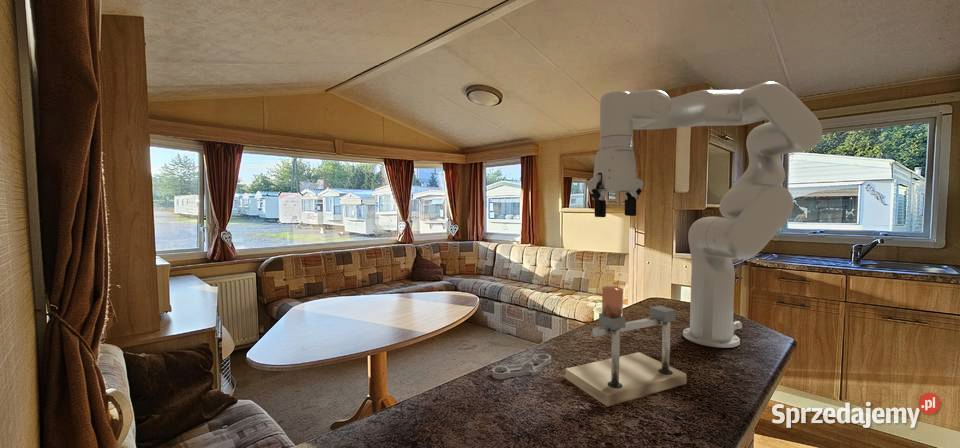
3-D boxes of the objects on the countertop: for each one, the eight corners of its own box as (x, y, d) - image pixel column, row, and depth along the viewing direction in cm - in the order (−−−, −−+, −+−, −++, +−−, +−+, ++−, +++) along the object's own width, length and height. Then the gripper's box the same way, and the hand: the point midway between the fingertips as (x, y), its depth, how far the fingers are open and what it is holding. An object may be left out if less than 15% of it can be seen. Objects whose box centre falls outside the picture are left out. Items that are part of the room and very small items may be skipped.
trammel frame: (660, 364, 81) (662, 305, 80) (675, 371, 77) (677, 309, 76) (589, 382, 73) (590, 317, 72) (603, 390, 70) (604, 322, 69)
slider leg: (611, 374, 75) (613, 285, 74) (625, 382, 72) (627, 289, 71) (597, 378, 74) (598, 287, 73) (610, 386, 70) (612, 291, 69)
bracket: (484, 360, 85) (546, 351, 89) (484, 369, 85) (546, 359, 89) (496, 375, 78) (563, 364, 82) (496, 385, 78) (563, 373, 82)
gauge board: (638, 360, 87) (638, 351, 87) (686, 383, 76) (686, 373, 76) (565, 378, 79) (565, 368, 79) (607, 406, 68) (607, 395, 68)
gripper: (630, 148, 101) (630, 214, 102) (577, 145, 93) (577, 217, 94) (654, 145, 94) (653, 215, 95) (599, 141, 87) (598, 218, 88)
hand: (615, 216), depth 95 cm, fingers open, 9 cm apart
